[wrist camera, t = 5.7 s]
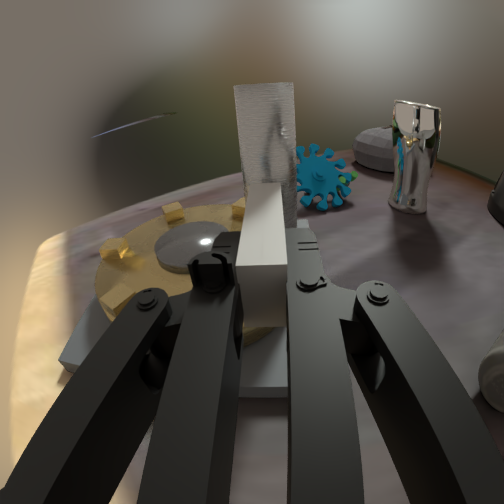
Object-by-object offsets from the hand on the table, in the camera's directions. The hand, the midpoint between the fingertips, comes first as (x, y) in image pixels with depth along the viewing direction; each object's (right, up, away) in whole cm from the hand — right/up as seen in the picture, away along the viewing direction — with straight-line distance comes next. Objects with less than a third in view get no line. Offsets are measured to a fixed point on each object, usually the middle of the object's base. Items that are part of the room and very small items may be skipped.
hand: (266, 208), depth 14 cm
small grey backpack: (+29, +17, +40) cm, 52 cm away
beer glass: (+22, +4, +22) cm, 32 cm away
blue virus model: (+9, +5, +25) cm, 27 cm away
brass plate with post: (-5, -4, +10) cm, 12 cm away
